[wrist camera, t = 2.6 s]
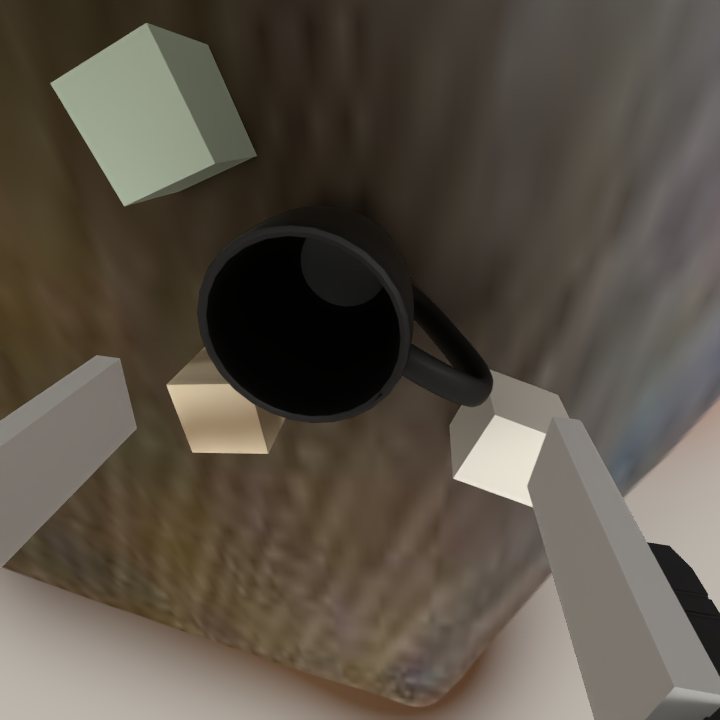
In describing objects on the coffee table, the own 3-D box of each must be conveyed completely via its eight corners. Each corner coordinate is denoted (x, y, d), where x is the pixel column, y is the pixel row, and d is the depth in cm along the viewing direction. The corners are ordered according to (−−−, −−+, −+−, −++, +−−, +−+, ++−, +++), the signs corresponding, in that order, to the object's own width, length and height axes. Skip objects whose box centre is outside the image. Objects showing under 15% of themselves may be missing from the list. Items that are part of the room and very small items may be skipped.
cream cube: (483, 366, 26) (494, 414, 21) (557, 394, 26) (583, 447, 22) (449, 424, 28) (453, 478, 24) (516, 449, 29) (532, 507, 24)
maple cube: (206, 344, 28) (166, 385, 24) (277, 342, 27) (248, 383, 23) (226, 405, 30) (192, 452, 26) (291, 405, 29) (268, 453, 25)
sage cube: (127, 91, 21) (50, 83, 17) (208, 44, 20) (146, 22, 15) (180, 191, 23) (124, 206, 19) (257, 155, 22) (215, 163, 17)
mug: (434, 373, 26) (437, 485, 18) (258, 294, 25) (178, 375, 17) (507, 257, 22) (554, 335, 14) (301, 158, 21) (222, 179, 13)
